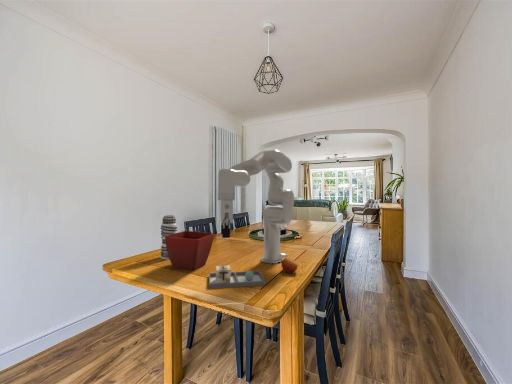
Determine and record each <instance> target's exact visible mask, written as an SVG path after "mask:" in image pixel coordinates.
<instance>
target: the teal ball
mask: <svg viewBox="0 0 512 384" xmlns="http://www.w3.org/2000/svg"><path fill="white" fill-rule="evenodd" d="M253 277H254V274H253V272H252V270H247V272H246V273H245V278H246V279H247V280H252V279H253Z"/></svg>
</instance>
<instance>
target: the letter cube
mask: <svg viewBox="0 0 512 384" xmlns="http://www.w3.org/2000/svg"><path fill="white" fill-rule="evenodd" d="M215 268H216V269H215V273H216V283H230V277H231V272H232V271H231V265H229V264H228V265H216V266H215Z"/></svg>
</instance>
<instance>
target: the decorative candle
mask: <svg viewBox="0 0 512 384" xmlns="http://www.w3.org/2000/svg"><path fill="white" fill-rule="evenodd" d="M177 229H178V227H177V217H176V216H175V215H174V214H173V215H172V214H171V215H170V214H169V215H166V214H165V215H164V216H163V217H162V223H161V225H160V230H161V231H160V236H161V245H160V248H161V249H160V250H161V251H160V256H161V257H160V259H161V260H170V259H169V255H168V252H167V247H166V242H165V236H168V235H171V234H175V233H176V232H178V230H177Z"/></svg>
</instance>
